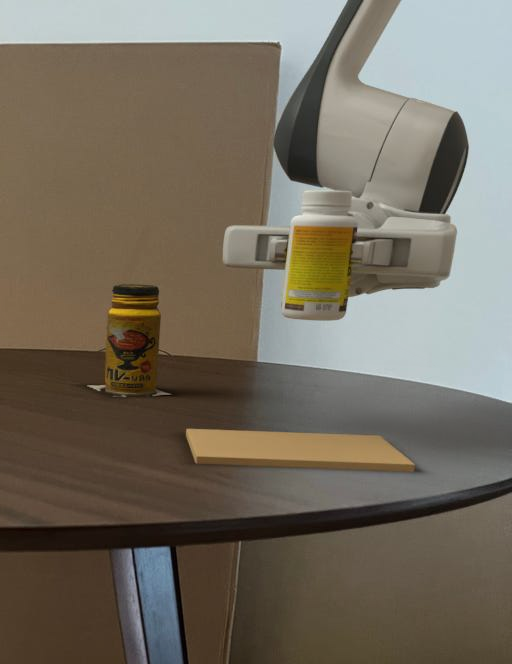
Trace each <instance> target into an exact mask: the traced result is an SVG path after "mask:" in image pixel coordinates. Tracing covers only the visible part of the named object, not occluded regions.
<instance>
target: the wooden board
mask: <svg viewBox="0 0 512 664" xmlns="http://www.w3.org/2000/svg"><path fill="white" fill-rule="evenodd" d="M185 437H186V440H187V443H188V446H189V449H190V451H191V454H192V456H193V460H194V463H195V464H197V465H221V466H222V465H224V466H245V467H246V466H250V467H272V468H273V467H276V468H297V469H300V468H301V469H303V468H304V469H327V470H328V469H329V470H330V469H331V470H351V471H353V470H354V471H377V472H378V471H379V472H403V473H404V472H408V473H415V468H416V464H415V463H414V462H413V461H412V460H410V459H409V458H408V457H407V456H405V455H404V454H403V453H402V452H401V451H399V450H398V449H397V448H396V447H394V446H393V445H392V444H391V443H389V442H388V441H387V440H385V438H383V437H382V436H381V435H371V434H369V435H368V434H346V433H345V434H343V433H316V432H293V431H292V432H290V431H289V432H287V431H286V432H285V431H265V430H264V431H262V430H261V431H259V430H235V429H231V430H230V429H207V428H206V429H205V428H186V430H185Z"/></svg>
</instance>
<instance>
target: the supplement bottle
mask: <svg viewBox="0 0 512 664" xmlns="http://www.w3.org/2000/svg"><path fill="white" fill-rule="evenodd" d="M302 193H303V194H302V202H301V207H300V209H301V211H302V212H303V213H302V214H300V215H299V214H298V215H295V216H293V217H292V218H291V220H290V224H289V226H290V230H289V239H288V248H287V257H286V266H285V270H284V276H283V285H282V294H281V295H282V296H281V303H280V305H281V306H280V312H281V315H282V316H283V317H284V318H288V319H293V320H299V321H301V320H303V321H318V322H319V321H321V322H322V321H324V322H325V321H327V322H329V321H339V320H341V319H343V318H344V317H345V316H346V313H347V309H348V303H349V297H348V295H349V287H350V280H351V272H352V265H353V264H350V256H351V254H352V253H353V252H352V250H351V249H352V243H353V241H356V235H357V228H358V221H357V219H356V218H355V217H353V216H347V213H348V212H349V211H350V206H351V199H352V198H353V196H352V192H351V191H335V190H332V189H328V190H327V189H326V190H325V189H323V190H321V189H320V190H319V189H317V190H316V189H311V190H309V189H308V190H304V191H303V192H302Z"/></svg>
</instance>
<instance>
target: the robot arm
mask: <svg viewBox="0 0 512 664" xmlns="http://www.w3.org/2000/svg"><path fill="white" fill-rule="evenodd" d="M401 2H402V0H346V3H345V5H344V6H343V8H342V9H341V12H340V14H339V15H338V17H337V19H336V21H335V23H334V25H333V26H332V28H331V30H330V31H329V34H328V36H327V38H326V39H325V41H324V43H323V44H322V47H321V48H320V50H319V52H318V53H317V55H316V57H315V59H314V60H313V61H312V63H311V64H310V66H309V68H308V69H307V71H306V72H305V73H304V76H303V77H302V79H301V80H300V82H299V83H298V84H297V86H296V88H295V90H294V91H293V93H292V95H291V96H290V97H289V99H288V101H287V103H286V104H285V105H284V108H283V110H282V111H281V114H280V116H279V119H278V121H277V125H276V129H275V132H274V136H273V150H274V152H275V155H276V158H277V160H278V163H279V165H280V166H281V168H282V171H283V172H284V173H285V175H286V176H287V178H288V179H289V181H291V182H296V183H300V184H304V185H308V186H311V187H312V186H313V187H317V188H322V189H323V188H327V189H328V190H331V191H351V192H352V199H351V206H350V211H349V212H348V213H347V216H353V217H355V218H356V219H357V221H358V228H357V235H356V241H353V243H352V249H351V250H352V252H353V253H352V254H351V256H350V264H353V265H352V272H351V280H350V287H349V295H348V298H354V297H357V296H360V295H361V296H362V295H364V294H366V295H371V294H375V293H378V292H383V291H387V290H392V291H393V290H394V291H396V290H407V289H408V290H412V289H413V290H424V289H434V288H438V287H439V286H440V285H441V281H445V280H448V278H449V277H450V276H451V271H452V267H453V259H454V254H455V249H456V248H455V247H456V242H457V236H458V235H457V234H458V229H457V227H456V224H453V223H452V222H451V220H452V219H451V217H452V216H451V215H449V214H447V212H448V210H449V208H450V206H451V204H452V202H453V200H454V198H455V197H456V194H457V192H458V189H459V187H460V184H461V182H462V179H463V176H464V172H465V170H466V166H467V163H468V162H467V161H468V157H469V151H470V150H469V149H470V144H469V139H468V133H467V129H466V126H465V122H464V120H463V119H462V117H461V115H460V113H459V112H458V110H457V111H455V110H452V109H450V108H446V107H444V106H442V105H441V106H440V105H437V104H435V103H431V102H428V101H425V100H422V99H421V100H420V99H418V98H415V97H408V96H404V95H402V94H398V93H395V92H393V91H392V92H391V91H389V90H385V89H382V88H379V87H375V86H373V85H368V84H365V83H364V82H362V81H361V80H360V78H359V75H360V73H361V71H362V69H363V68H364V66H365V65H366V63H367V61H368V59H369V58H370V56H371V53H372V52H373V50H374V49H375V47H376V45H377V44H378V42H379V40H380V38H381V36H382V34H383V33H384V31H385V29H386V27H387V26H388V24H389V23H390V21H391V19H392V17H393V16H394V14H395V13H396V10H397V9H398V7H399V5H400V4H401ZM289 230H290V225H254V224H253V225H251V224H250V225H243V224H241V225H240V224H239V225H238V224H237V225H235V224H234V225H229V226H228V227H226V228H225V231H224V237H223V242H222V243H223V244H222V264H223V265H224V266H225V267H228V268H231V269H232V268H234V269H252V270H253V269H255V270H276V271H277V270H278V271H285V266H286V257H287V248H288V239H289Z"/></svg>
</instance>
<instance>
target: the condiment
mask: <svg viewBox="0 0 512 664" xmlns="http://www.w3.org/2000/svg"><path fill="white" fill-rule="evenodd" d="M111 292H112V298H111V308H110V309H109V311H108V313H107V324H106V325H107V326H106V344H105V353H104V355H105V361H104V362H105V363H104V370H105V372H104V382H105V383H104V384H99V385H94V384H93V385H92V384H91V385H88V387H89V388H90V389H93V390H96V391H98V392H101V390H102V389H104V392H105V393H107V394H113V396H112V397H116V398H117V396H118V398H119V397H120V398H121V397H123V398H126V397H127V398H128V397H143V396H145V397H148V396H152V397H156V396H165V395H172V393H168V392H165V391H161V390H160V389H157V388H156V387H157V385H158V383H157V381H158V369H159V368H158V367H159V353H160V352H159V350H160V334H161V319H162V316H161V311H160V310H159V308H158V306H159V303H160V300H159V297H160V296H159V295H160V290H159V287H158V286H157V285H153V284H139V283H138V284H134V283H128V284H127V283H125V284H124V283H123V284H115V285H114V286H113V287H112V290H111Z"/></svg>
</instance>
